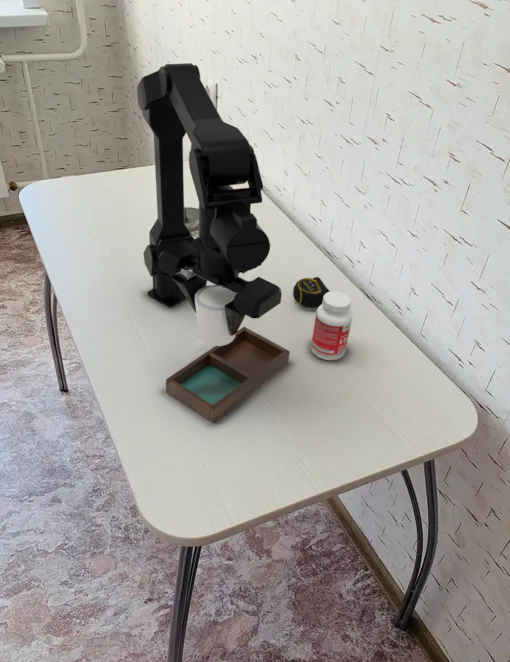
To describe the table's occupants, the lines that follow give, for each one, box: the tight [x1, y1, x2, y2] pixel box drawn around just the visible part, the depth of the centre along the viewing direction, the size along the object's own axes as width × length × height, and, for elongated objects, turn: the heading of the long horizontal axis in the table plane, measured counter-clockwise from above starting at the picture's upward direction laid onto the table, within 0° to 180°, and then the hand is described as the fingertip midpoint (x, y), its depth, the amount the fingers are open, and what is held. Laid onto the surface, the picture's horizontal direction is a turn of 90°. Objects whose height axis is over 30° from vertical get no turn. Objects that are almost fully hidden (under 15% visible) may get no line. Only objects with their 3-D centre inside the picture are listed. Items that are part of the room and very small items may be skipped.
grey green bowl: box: [184, 206, 199, 233], centre depth 139 cm, size 11×10×5 cm
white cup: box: [195, 284, 235, 347], centre depth 93 cm, size 7×7×7 cm
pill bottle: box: [310, 290, 353, 361], centre depth 106 cm, size 6×6×11 cm
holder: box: [165, 326, 291, 424], centre depth 102 cm, size 10×19×3 cm, turn 141°
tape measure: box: [292, 276, 331, 309], centre depth 120 cm, size 7×7×4 cm
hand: (217, 325), depth 94 cm, fingers closed on white cup, 6 cm apart
